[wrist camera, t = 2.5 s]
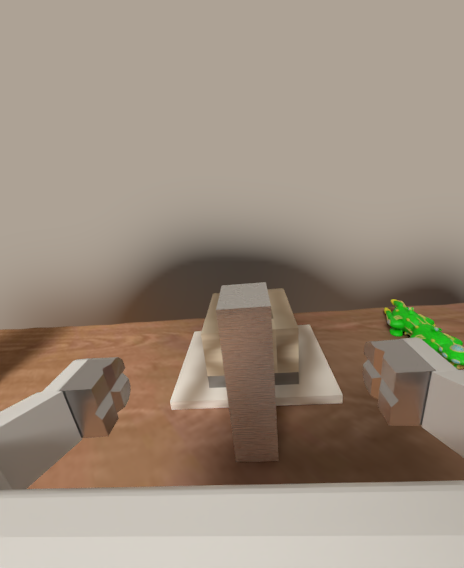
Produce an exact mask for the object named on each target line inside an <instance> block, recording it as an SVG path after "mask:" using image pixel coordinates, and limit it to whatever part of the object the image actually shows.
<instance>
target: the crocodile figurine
mask: <svg viewBox="0 0 464 568" xmlns="http://www.w3.org/2000/svg"><path fill="white" fill-rule="evenodd" d="M391 303H392V304H393V305H396V306H397V307H395V309H394V310H393V312H392V313H391V310H389V309H388V308H385V309H384V311H385V314H387V315H386V316H387V320H388V319H389V320H388V321H387V323H388V324H389V325H390V326H391V327H393V328H391V329H390V333H391V334H392V335H394V336H399V337H400V336H402V335H403V333H402V332H403V331H405V333H404V334H405V335H406V334H409V335H410V338H415V337H417V338H420V339H422V340H423V341H424V342H426V343H427V344H428V345H429V346H430V347H431V348H433V349H434V350H435V351H436V352H437V353H439V354H440V355H441V356H442V357H443V358H445V359H446V360H447V361H448V362H449V363H451V364H452V365H453V366H454V367H455V368H456V369H461V368H462V369H463V368H464V347H463V346H462V345H463V343H462V341H460V340H459V339H457V338H455V337H452V336H450V335H448V334H444V333H442V332H440V331H439V330H441V329H440V328H437V327H436V325H435V324H434V321H433V320H432V319H430V318H427V317H425V316H422V315H420V314H417V313H415V312H414V311H413V309H414V308H411V307H409V308H408V307H406V306H405V304H404V303H403V302H402V301H398V300H394V299H392V300H391ZM433 324H434V325H433ZM441 331H442V330H441Z"/></svg>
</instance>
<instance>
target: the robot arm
mask: <svg viewBox="0 0 464 568" xmlns="http://www.w3.org/2000/svg"><path fill="white" fill-rule="evenodd" d="M364 354H365V355H366V357H367V358H368V360H367V361H366V362H365V363H364V364H363V378H364V383H365V386H366V388H367V390H368V392H369V394H370V395H371V396H372V397H374V398H376V399H377V400H378V408H379V410H380V412H381V413H382V415H383V416H384V418H385V420H386V421H387V423H388V425H389V426H422V428H424V429H425V430H426V431H428V432H429V433H430V434H432V435H433V436H435V437H436V438H437V439H439V440H440V441H441V442H443V443H444V444H445V445H447V446H448V447H450V448H451V449H452V450H454V451H455V452H456V453H458V454H459V455H461V456H462V457H463V458H464V370H458V369H456V368H455V367H454V366H453V365H452V364H451V363H449V362H448V361H447V360H446V359H445V358H443V357H442V356H441V355H440V354H439V353H437V352H436V351H435V350H434V349H433V348H431V347H430V346H429V345H428V344H427V343H426V342H424V341H423V340H422V339H420V338H417V337H415V338H405V339H397V340H385V341H373V342H366V344H365V347H364ZM124 369H125V366H124V363H123V360H122V359H120V358H119V357H115V358H92V359H78V360H75V361H73V362H72V363H71V364H70V365H69V366H68V367H67V368H66V369H65V370H64V371H63V372H62V373H61V374H60V375H59V376H58V377H57V378H56V379H55V380H54V381H53V382H52V383H51V384H50V385H49V386H47V387H46V388H45V389H44V390H43V391H42V392H40V393H35V394H33V395H32V396H30V397H28V398H26V399H24V400H22V401H20V402H18V403H16V404H14V405H12V406H11V407H9V408H7V409H5V410H3V411H1V412H0V568H464V480H459V481H408V482H357V483H306V484H255V485H205V486H155V487H106V488H56V489H27V488H28V487H29V486H30V485H31V484H32V483H33V482H35V481H36V480H37V479H38V478H39V477H40V476H41V475H43V474H44V473H45V472H46V471H47V470H48V469H49V468H50V467H52V466H53V465H54V464H55V463H56V462H57V461H58V460H59V459H61V458H62V457H63V456H64V455H65V454H66V453H67V452H69V451H70V450H71V449H72V448H73V447H74V446H75V445H76V444H78V443H79V442H80V441H81V440H82V438H91V437H106V436H109V434H110V432H111V431H112V429H113V427H114V425H115V424H116V422H117V420H118V414H117V413H118V412H119V411H120V410H121V409H123V408H124V407H125V406H126V404H127V402H128V400H129V395H130V383H129V379H128V378H127V377H126V376H125V375H124V374H123V371H124Z"/></svg>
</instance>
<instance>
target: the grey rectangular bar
mask: <svg viewBox="0 0 464 568" xmlns="http://www.w3.org/2000/svg"><path fill="white" fill-rule="evenodd" d="M216 314H217V322H218V329H219V337H220V344H221V352H222V360H223V367H224V375H225V382H226V390H227V397H228V405H229V412H230V420H231V428H232V435H233V443H234V450H235V458H236V462H266V461H279V456H278V436H277V416H276V397H275V377H274V357H273V337H272V317H271V304H270V300H269V295H268V290H267V286H266V283H265V282H262V283H249V284H236V285H222V287H221V291H220V295H219V299H218V303H217V307H216Z"/></svg>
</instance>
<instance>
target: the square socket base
mask: <svg viewBox="0 0 464 568" xmlns="http://www.w3.org/2000/svg"><path fill="white" fill-rule="evenodd" d="M219 295H220V293H214V294H213V295H212V299H211V302H210V305H209V309H208V312H207V315H206V318H205V322H204V325H203V328H202V331H196V332H194V335H193V338H192V340H191V343H190V346H189V349H188V352H187V355H186V358H185V360H184V363H183V366H182V369H181V372H180V375H179V377H178V380H177V383H176V386H175V389H174V392H173V395H172V397H171V400H170V404H171V409H172V410H174V409H201V408H228V407H229V405H228V397H227V390H226V382H225V375H224V367H223V360H222V352H221V344H220V337H219V329H218V322H217V314H216V307H217V303H218V299H219ZM268 295H269V300H270V304H271V317H272V337H273V357H274V377H275V397H276V406H282V405H309V404H337V403H342V400H343V394H342V392H341V390H340V388H339V386H338V384H337V382H336V379H335V377H334V375H333V373H332V371H331V369H330V367H329V365H328V362H327V360H326V358H325V356H324V354H323V352H322V350H321V348H320V346H319V343H318V341H317V339H316V337H315V335H314V333H313V331H312V329H311V326H310V325H297V323H296V320H295V318H294V315H293V312H292V310H291V307H290V305H289V302H288V299H287V297H286V294H285V291H284V289H283V288H282V289H269V290H268Z"/></svg>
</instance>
